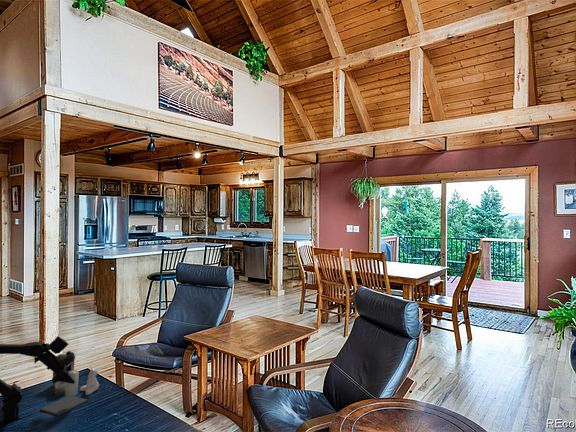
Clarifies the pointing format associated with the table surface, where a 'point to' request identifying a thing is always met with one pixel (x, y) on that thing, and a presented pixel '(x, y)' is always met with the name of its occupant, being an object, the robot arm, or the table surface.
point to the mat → (63, 405)
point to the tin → (60, 388)
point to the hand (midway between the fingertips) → (75, 380)
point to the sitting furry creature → (91, 383)
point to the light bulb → (72, 388)
